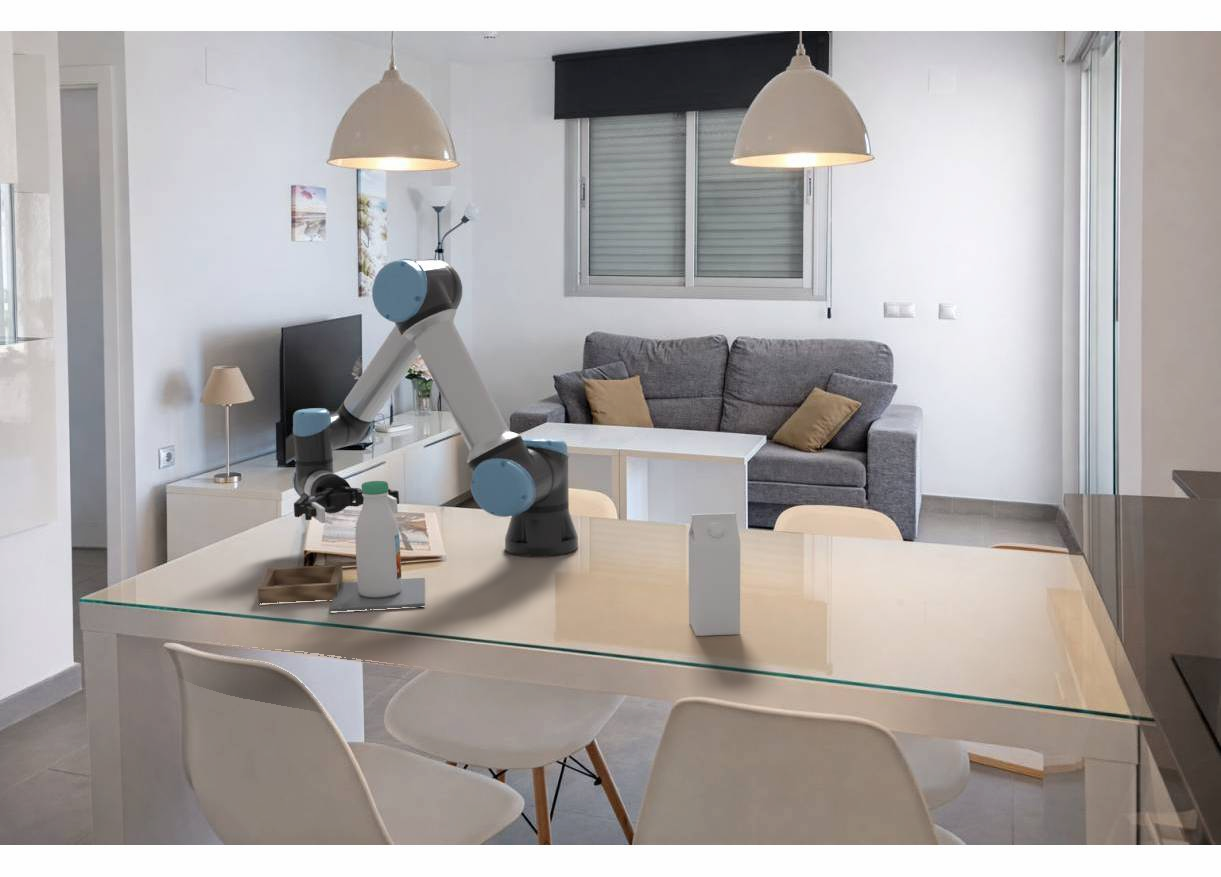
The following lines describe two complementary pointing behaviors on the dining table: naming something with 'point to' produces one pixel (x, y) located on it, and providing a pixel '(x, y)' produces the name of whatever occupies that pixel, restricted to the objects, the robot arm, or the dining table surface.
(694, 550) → the milk carton
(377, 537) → the milk bottle
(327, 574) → the tray
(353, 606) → the trivet
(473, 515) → the dining table surface
